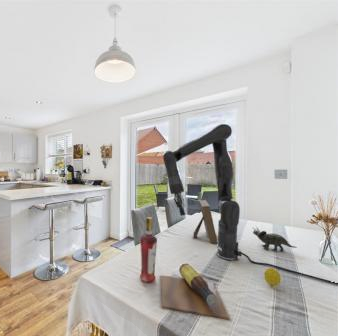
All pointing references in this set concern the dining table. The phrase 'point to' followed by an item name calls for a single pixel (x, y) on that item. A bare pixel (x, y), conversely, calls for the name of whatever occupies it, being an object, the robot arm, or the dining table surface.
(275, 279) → the lemon
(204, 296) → the sauce bottle
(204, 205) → the photo frame
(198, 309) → the wooden board
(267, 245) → the toy dinosaur
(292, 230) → the dining table surface
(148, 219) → the liquor
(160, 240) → the dining table surface
